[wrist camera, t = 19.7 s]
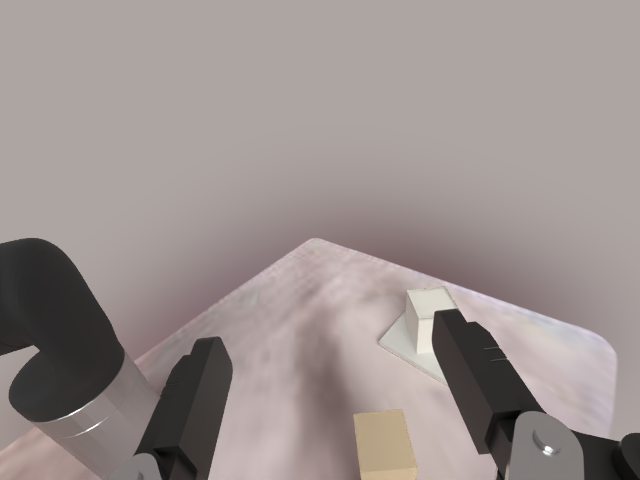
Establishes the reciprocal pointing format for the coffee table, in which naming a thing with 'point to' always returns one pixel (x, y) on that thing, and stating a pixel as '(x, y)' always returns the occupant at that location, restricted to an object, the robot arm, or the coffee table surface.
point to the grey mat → (410, 350)
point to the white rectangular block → (425, 314)
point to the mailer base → (384, 446)
